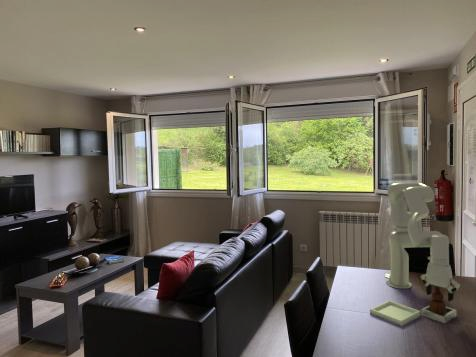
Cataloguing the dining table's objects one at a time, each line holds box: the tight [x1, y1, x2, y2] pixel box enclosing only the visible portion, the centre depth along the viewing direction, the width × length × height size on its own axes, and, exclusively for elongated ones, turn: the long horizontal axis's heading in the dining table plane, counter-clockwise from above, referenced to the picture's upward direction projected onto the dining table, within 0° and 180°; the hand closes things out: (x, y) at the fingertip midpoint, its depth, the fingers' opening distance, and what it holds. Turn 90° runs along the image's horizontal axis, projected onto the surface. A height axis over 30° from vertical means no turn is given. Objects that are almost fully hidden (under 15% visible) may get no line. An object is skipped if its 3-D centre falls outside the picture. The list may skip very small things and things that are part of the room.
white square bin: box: [420, 305, 457, 324], centre depth 170 cm, size 10×11×3 cm
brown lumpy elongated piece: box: [428, 286, 447, 315], centre depth 170 cm, size 7×6×15 cm
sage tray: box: [369, 300, 421, 327], centre depth 172 cm, size 16×16×2 cm
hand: (439, 297), depth 169 cm, fingers open, 9 cm apart
